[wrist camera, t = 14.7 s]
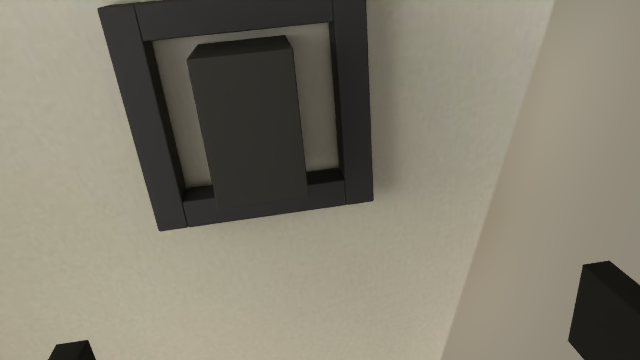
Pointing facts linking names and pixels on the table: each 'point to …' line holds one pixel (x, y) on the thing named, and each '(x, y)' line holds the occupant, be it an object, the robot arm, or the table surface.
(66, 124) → the table surface
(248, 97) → the black box
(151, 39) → the frame pad
